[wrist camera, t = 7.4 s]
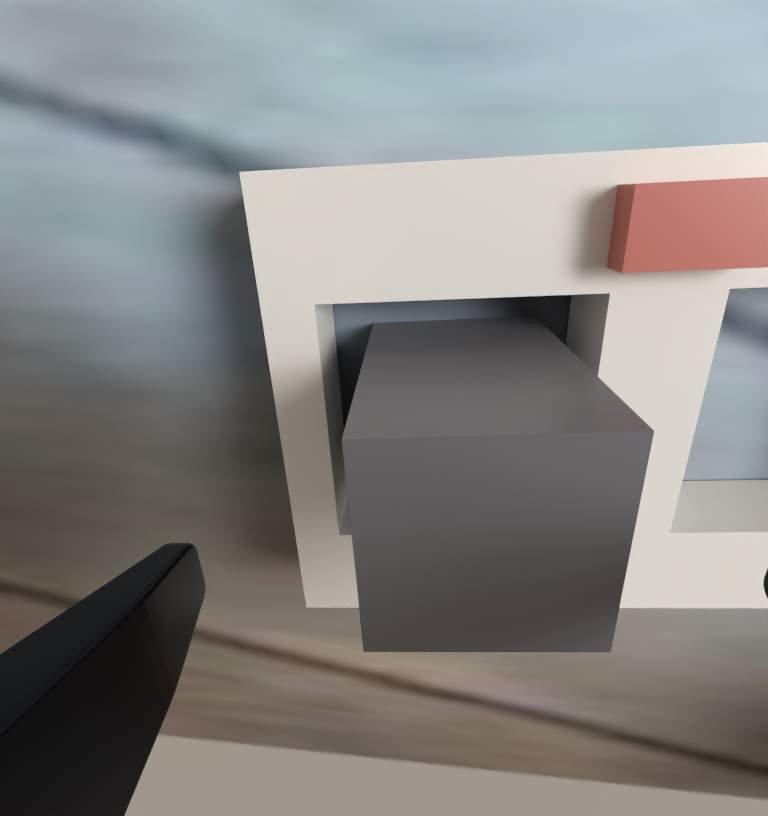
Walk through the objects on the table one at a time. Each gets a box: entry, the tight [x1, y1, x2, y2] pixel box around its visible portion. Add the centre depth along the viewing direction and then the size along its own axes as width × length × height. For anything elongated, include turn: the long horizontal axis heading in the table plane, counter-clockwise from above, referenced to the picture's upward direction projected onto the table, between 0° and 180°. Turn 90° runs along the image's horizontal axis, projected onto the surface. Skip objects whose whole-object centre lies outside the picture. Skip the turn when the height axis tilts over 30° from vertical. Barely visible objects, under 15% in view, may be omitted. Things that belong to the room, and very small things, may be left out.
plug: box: [342, 316, 654, 652], centre depth 11 cm, size 4×4×7 cm
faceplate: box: [239, 142, 768, 608], centre depth 12 cm, size 12×18×3 cm, turn 93°
